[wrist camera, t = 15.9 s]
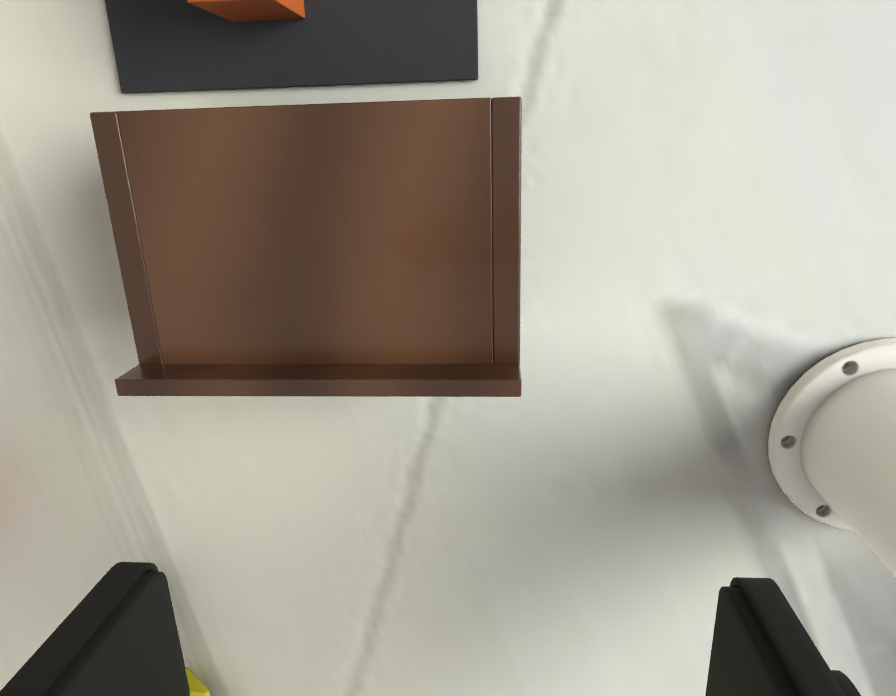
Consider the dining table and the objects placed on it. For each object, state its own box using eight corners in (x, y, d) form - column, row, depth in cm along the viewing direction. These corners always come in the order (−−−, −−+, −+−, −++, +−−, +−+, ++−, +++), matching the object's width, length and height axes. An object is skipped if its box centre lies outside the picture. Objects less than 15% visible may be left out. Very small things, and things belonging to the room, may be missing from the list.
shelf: (515, 108, 34) (523, 92, 23) (514, 319, 38) (521, 397, 27) (197, 119, 36) (56, 110, 24) (227, 321, 39) (117, 396, 28)
